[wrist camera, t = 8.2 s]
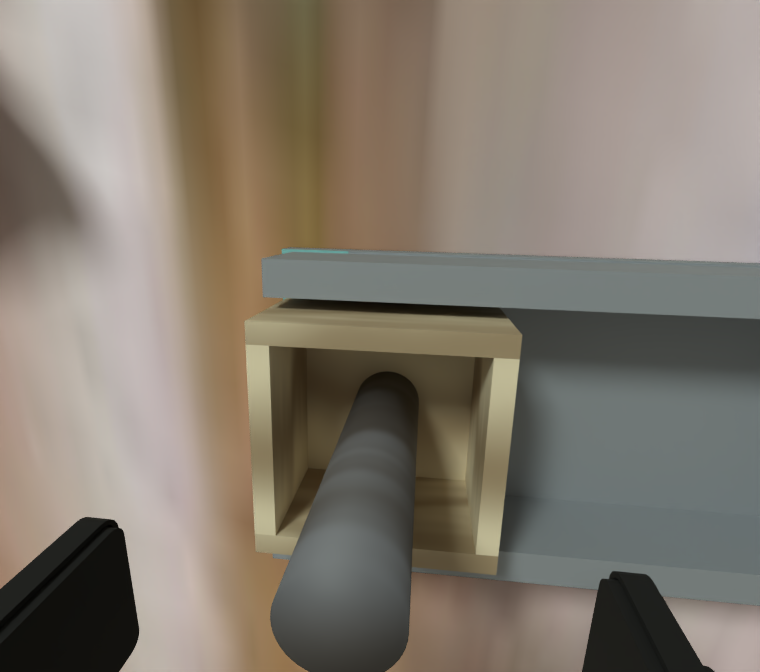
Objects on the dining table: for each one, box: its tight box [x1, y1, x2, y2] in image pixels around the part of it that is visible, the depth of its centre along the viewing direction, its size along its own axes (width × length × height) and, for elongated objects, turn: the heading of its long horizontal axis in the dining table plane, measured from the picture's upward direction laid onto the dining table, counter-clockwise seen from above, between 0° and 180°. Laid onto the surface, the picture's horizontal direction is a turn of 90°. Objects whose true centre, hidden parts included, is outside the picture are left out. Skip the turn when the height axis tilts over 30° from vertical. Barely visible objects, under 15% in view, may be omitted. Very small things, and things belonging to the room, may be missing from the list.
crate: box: [245, 298, 522, 672], centre depth 15 cm, size 9×9×12 cm
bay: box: [262, 247, 760, 606], centre depth 19 cm, size 13×26×6 cm, turn 88°
